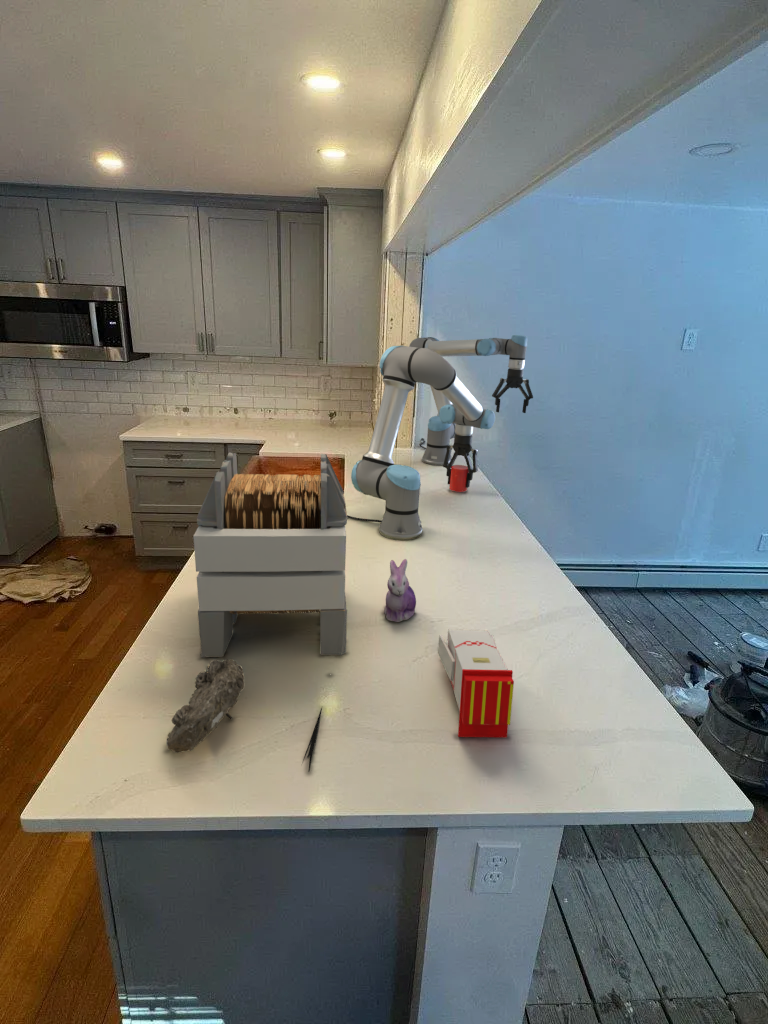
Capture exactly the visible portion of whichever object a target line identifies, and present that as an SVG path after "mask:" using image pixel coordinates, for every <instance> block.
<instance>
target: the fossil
mask: <svg viewBox="0 0 768 1024" xmlns="http://www.w3.org/2000/svg"><path fill="white" fill-rule="evenodd" d="M243 670H244V669H243V667H242V665H240V664H237V662H236V661H235V660H234V659H232V658H231V659H227V658H226V659H224V660H223V661H222V660H217V659H212V660H211V661H210V663H209V665H208V666H207V671H201V672H199V673H198V674H197V675H196V676H195V680H194V684H195V685H194V687H195V689H194V690H193V693H192V694H191V697H190V698H189V700H188V704H184V705H182V706H181V707H180V709H177V710H176V711H175V713H174V715H173V716H172V718H171V723H172V724H173V727H172V730H171V731H170V732H168V734H167V738H166V741H167V742H166V745H167V749H168V750H169V751H173V752H174V753H176V754H178V753H182V752H188V751H189V752H192V751H193V750H195V748H196V747H197V746H199V744H200V743H201V742H203V741H204V740H205V739H206V738H207V737H208V736H209V735H210V734H211V733H212V732H214V730H215V729H217V727H218V726H219V724H220V722H221V721H222V720H223V719H224V718H225V716H226V717H227V719H229V720H233V717H232V715H230V714H229V710H230V709H231V708H234V706H235V704H236V703H237V702H238V699H239V697H240V695H241V693H242V691H243V690H245V689H244V688H245V675H244V671H243Z"/></svg>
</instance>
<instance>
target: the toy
mask: <svg viewBox="0 0 768 1024" xmlns="http://www.w3.org/2000/svg"><path fill="white" fill-rule="evenodd" d="M446 640H447V643H446V641H445V639H444V636H443V635H442V634H439V637H438V646H437V656H438V657H439V659H440V661H441V663H442V666H443V668H444V670H445V672H446V674H447V677H448V679H449V681H450V684H451V687H452V690H453V693H454V697H455V701H456V705H457V708H458V711H459V714H458V715H459V716H458V730H457V731H458V732H457V737H458V738H508V731H509V726H510V725H511V717H512V707H513V697H514V696H513V695H514V684H515V680H514V679H513V673H514V671H513V670H512V669H508V667H507V665H506V662H505V661H504V659H503V658H502V655H501V653H500V651H499V649H498V647H497V643H496V639H495V637H494V635H493V634H491V632H490V631H489V629H467V628H466V629H465V628H463V629H461V628H460V629H459V628H448V630H447V639H446Z"/></svg>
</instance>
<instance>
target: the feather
mask: <svg viewBox="0 0 768 1024" xmlns="http://www.w3.org/2000/svg"><path fill="white" fill-rule="evenodd" d="M329 675H330V676H331V675H332V674H331V673H330V674H329ZM322 710H323V707H321V708H320V710H319V713H318V716H317V719H316V723H315V725H314V728H313V731H312V733H311V737H310V739H309V742H308V745H307V748H306V751H305V754H304V757H303V760H302V763H301V767H302V765H303V763H304V761H305V758H308V759H309V760H308V762H307V763H308V764H307V766H308V771H310V770H311V766H312V765H311V764H312V760H313V757H315V756H314V755H315V751H316V749H315V746H317V739H318V733H319V729H320V722H321V717H322V712H323V711H322ZM313 754H314V755H313ZM306 755H307V757H306Z"/></svg>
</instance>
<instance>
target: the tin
mask: <svg viewBox="0 0 768 1024" xmlns="http://www.w3.org/2000/svg"><path fill="white" fill-rule="evenodd" d="M468 472H469V470H468V467H467V465H464V464H453V465H452V466H451V476H450V484H449V485H448V486H449V487H448V488H449V490H450V491H453V492H457V493H458V492H459V493H463V492H467V491H468V488H466V481H467V473H468Z"/></svg>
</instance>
